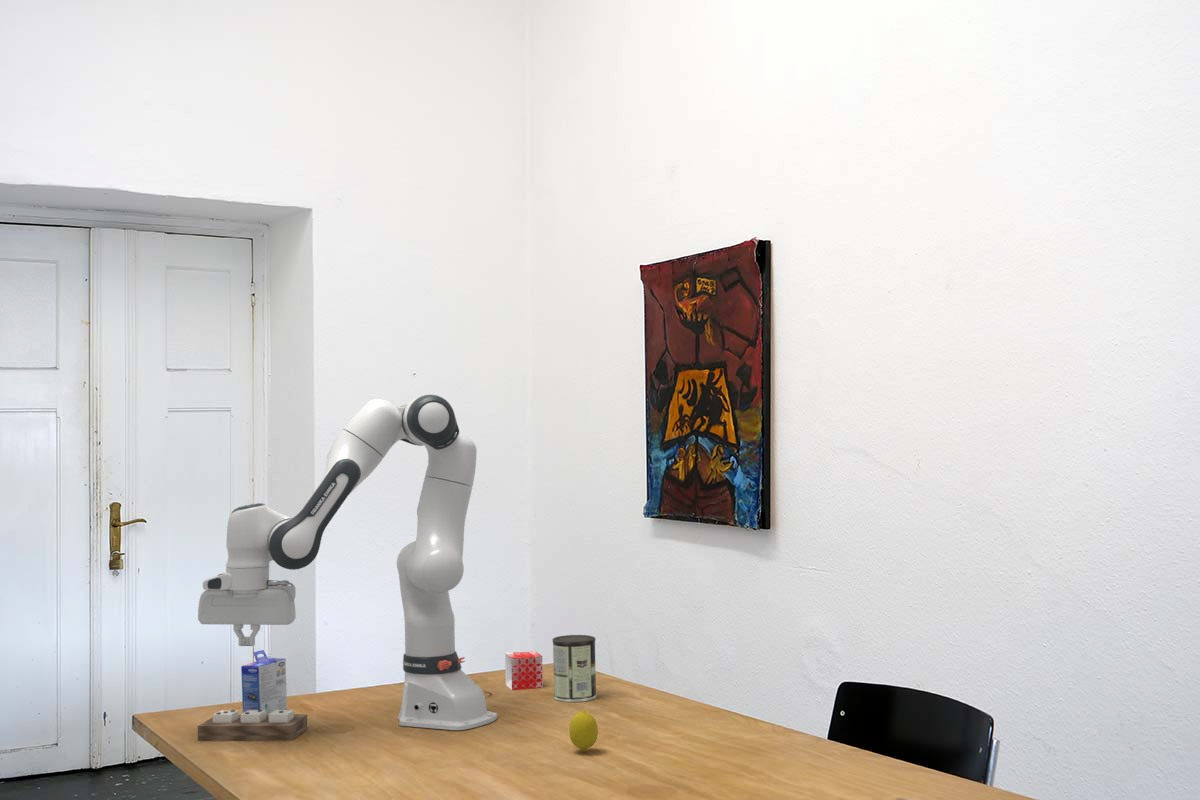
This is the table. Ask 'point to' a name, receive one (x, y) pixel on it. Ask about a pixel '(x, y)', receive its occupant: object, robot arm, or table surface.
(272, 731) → the button panel
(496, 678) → the table surface
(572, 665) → the coffee can
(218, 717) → the button three
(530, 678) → the red and white cube
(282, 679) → the ink cartridge box
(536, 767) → the table surface
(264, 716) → the button two
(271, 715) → the button one
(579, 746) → the lemon
